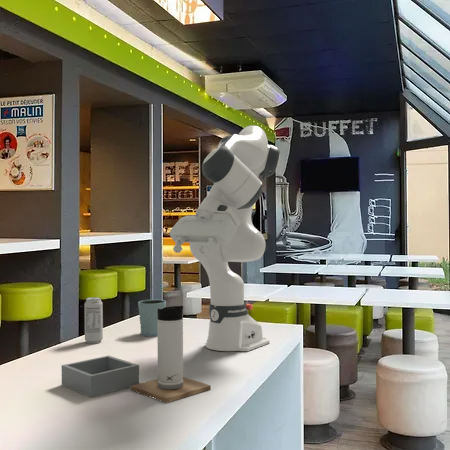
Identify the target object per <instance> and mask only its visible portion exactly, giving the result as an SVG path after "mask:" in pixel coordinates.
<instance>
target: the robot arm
mask: <svg viewBox="0 0 450 450" xmlns="http://www.w3.org/2000/svg"><path fill="white" fill-rule="evenodd" d="M280 164H281V151H280V149H279V148H278V147H276V145H272V144H269V141H268V137H267V134H266V132H265V130H264V129H263V128H261V127H260V126H257V125H248V126H246V127H243V129H241V131H240V132H239V133H238V134H237V133H233V134H231V135H226V136H224V137H222V138H221V140H220V142H219V143H218V145H217V147H216V148H215V149H213V150H212V151H211V152H209V154H207V156H206V157H205V158H204V160H203V162H202V164H201V171H202V176H204V177H205V178H206V179H208V181H210V182H211V183H213V185H212V186H211V188H210V189H209V193H208V195H207V196H206V197H204V198H203V200H202V202H201V203H200V205H199V206H198V208H197V209H196V211H195V214H194V215H193V214H188V215H186V216H182V217H181V218H180V219H179V220H177V222H176V223H175V224H174V225H173V227H172V228H171V229H170V230H169V236H170V238H171V240H173V242H175V244H174V247H173V249H172V250H173V251H174V253H178V254H179V253H181V252H182V251H183V247H182V245H184V243H189V250H190V253H191V254H192V256H193V257H194V258H195V259H196V260H198V261H199V263H200V264H201V265H202V266H203V268H204V270H205V271H206V274H207V276H208V281H209V290H210V291H209V293H210V303H208V304H209V307H208V313H209V314H208V315H209V317H210V318H209V322H208V323H209V324H208V332H207V333H208V334H207V339H206V343H205V348H207V349H209V350H212V351H218V352H219V351H220V352H249V351H252V350H254V349H258V348H259V347H262V346H265V345H268V344H270V339H268V338H266V337H263V336H264V335H263V329H262V325H261V324H260V323H259V322H258V321H257V320H255V319H254V318H253V317H252V316H250V314H249V312H248V310H249V311H252V310H253V309H254V305H253V304H252V303H245V282H244V280H243V278H242V277H241V276H240V275H239V274H237V273H235V272H234V271H232V270H231V268H230V266H229V262H233V263H248V262H253V261H258V260H260V259H261V258H262V257H263V255H264V253H265V251H266V239H265V236H264V235H263V234H262V233H261V231H259V230H258V229H257V228H256V227H255V226H254V224H253V222H252V213H253V208H254V206H255V204H256V203H257V201H258V200H259V199H260V197H261V196H262V193H263V182H262V181H264V179H266V178H269V177H270V176H272V175H274V174H275V173H276V171H277V169H279V166H280ZM260 177H261V179H260Z"/></svg>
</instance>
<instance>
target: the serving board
mask: <svg viewBox="0 0 450 450" xmlns="http://www.w3.org/2000/svg"><path fill="white" fill-rule="evenodd" d="M211 388H212V386H211V385H210V384H207V383H203V382H201V381H198V380H194V379H191V378H188V377H184V376H183V386H182V387H181V388H179V389H174V390H165V389H161V388H159V387H158V378H155V379H151V380H148V381H144V382H139V384H135V385H132V386H131V387H130V390H131V391H133V392H135V391H137V392H136V393H138V392H139V393H138V394H141V393H142V395H143V394H145V395H144V396H146V395H148V396H147V397H149V396H151V397H154V398H156V399H155V400H157V399H158V400H157V401H159V400H161V401H160V402H162V401H163V403H165V402H166V403H165V404H168V403H171V401H172V402H174V400H175V401H177V400H181V399H185V398H187V397H191V396H194V395H197V394H200V393H204V392H207V391H210V390H211ZM151 397H150V398H151ZM154 398H153V399H154ZM167 402H168V403H167Z"/></svg>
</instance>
